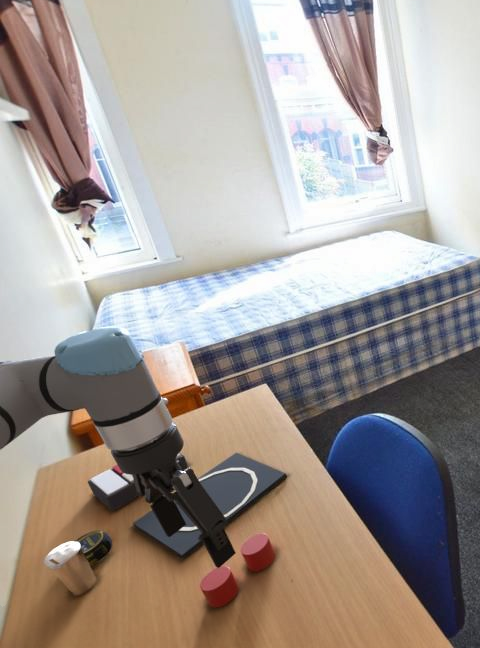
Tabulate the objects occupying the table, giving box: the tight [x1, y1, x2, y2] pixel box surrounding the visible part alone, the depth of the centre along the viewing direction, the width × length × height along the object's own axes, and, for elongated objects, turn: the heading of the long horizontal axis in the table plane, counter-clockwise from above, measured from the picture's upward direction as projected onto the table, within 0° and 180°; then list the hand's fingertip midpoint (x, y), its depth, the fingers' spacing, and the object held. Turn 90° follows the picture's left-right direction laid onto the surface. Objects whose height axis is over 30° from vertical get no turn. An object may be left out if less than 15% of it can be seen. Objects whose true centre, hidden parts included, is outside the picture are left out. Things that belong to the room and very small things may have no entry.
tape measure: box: [73, 529, 114, 567], centre depth 86 cm, size 7×7×4 cm
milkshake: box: [43, 541, 97, 596], centre depth 79 cm, size 4×5×10 cm
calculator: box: [87, 452, 189, 512], centre depth 105 cm, size 11×4×15 cm
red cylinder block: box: [199, 565, 240, 608], centre depth 76 cm, size 4×4×4 cm
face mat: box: [132, 452, 287, 560], centre depth 97 cm, size 22×18×1 cm
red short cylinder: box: [240, 532, 276, 572], centre depth 82 cm, size 4×4×4 cm
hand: (200, 544), depth 73 cm, fingers open, 13 cm apart
